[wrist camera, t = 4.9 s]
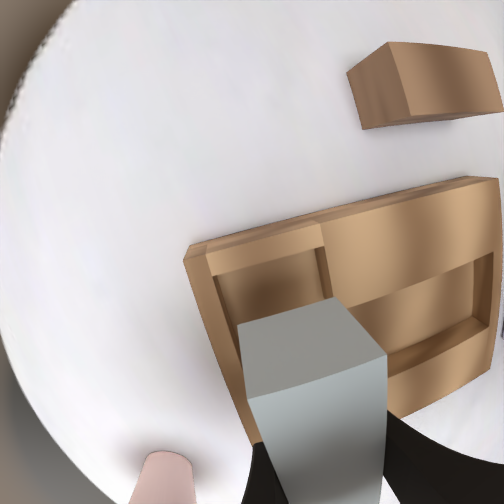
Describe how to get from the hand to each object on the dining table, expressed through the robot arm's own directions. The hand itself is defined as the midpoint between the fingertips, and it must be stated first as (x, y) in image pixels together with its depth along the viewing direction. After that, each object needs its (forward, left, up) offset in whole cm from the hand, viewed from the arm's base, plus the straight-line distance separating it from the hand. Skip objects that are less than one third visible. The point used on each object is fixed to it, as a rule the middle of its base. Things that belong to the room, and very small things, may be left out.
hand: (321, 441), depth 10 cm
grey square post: (0, 0, -2) cm, 2 cm away
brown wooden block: (-11, -12, -8) cm, 18 cm away
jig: (-6, 0, -8) cm, 10 cm away
